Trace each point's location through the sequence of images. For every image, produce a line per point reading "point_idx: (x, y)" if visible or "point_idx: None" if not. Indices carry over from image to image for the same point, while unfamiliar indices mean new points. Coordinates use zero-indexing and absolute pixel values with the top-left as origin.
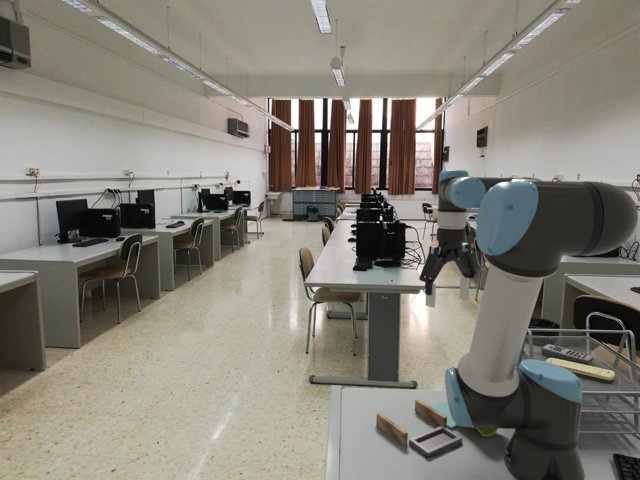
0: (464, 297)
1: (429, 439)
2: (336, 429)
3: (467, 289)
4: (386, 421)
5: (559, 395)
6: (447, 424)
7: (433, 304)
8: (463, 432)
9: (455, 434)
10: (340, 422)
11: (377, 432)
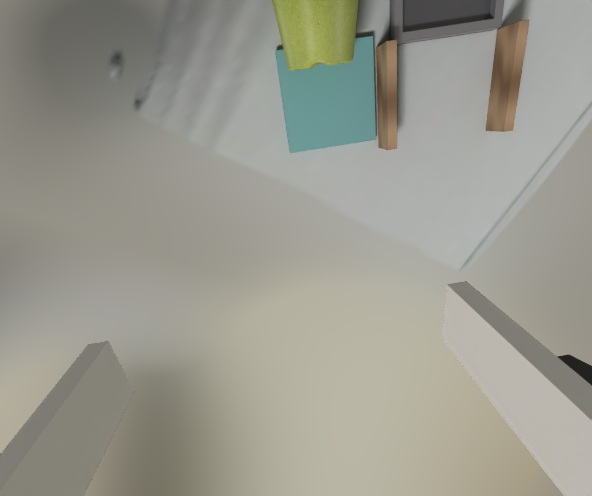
0: (108, 375)
1: (450, 16)
2: (564, 147)
3: (46, 427)
4: (517, 92)
5: None
6: (371, 51)
7: (475, 295)
8: None
9: None
10: (541, 167)
11: None
